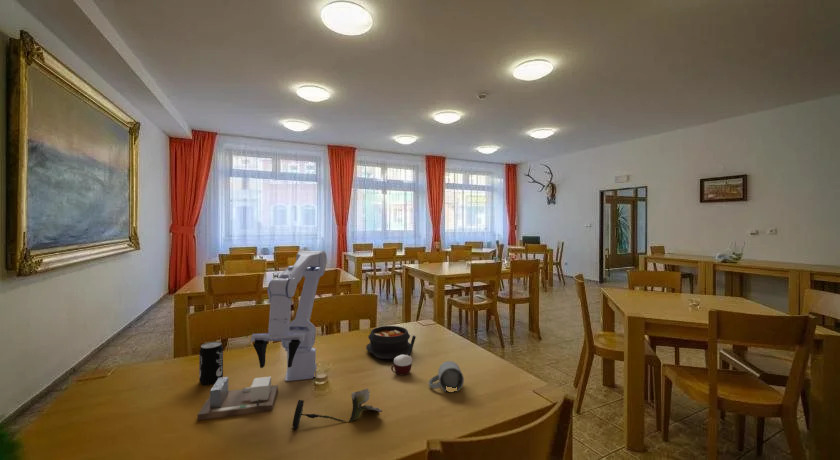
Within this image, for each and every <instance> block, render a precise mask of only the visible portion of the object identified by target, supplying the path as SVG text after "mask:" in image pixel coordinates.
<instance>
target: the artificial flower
mask: <svg viewBox="0 0 840 460" xmlns="http://www.w3.org/2000/svg"><path fill="white" fill-rule="evenodd" d="M370 393H371V392H370V389H369V388H365V389H362V390H358V391H353V392H351V400H352V411H351V415H350V418H349V420H348V421H351V422H353V421H354V420H357V419H359V418H360V414H361V413H362V411H363V412H364V410H365V411H368V410H369V411H375V412H380V413H383V409H380V408H379V407H374V406H372V405H369V404H365V403H367V402H368V401H369V400H370V396H371V395H370ZM304 403H305V400H303V399H298V401H297V403H296V408H295V411H294V415H293V419H292V424H291V425H292V428H291V429H292V430H294V429H295V430H297V429H298V428H299V425H300V422H301V418H302V416H306V417H307V418H310V419H315V418H323V419H330V420H334V421H337V422H340V421H345V420H344V419H340V418H337V417H333V416H329V415H322V414H316V413H310V414H309V413H307V414H306V413H303V412H304V409H303V408H304ZM362 404H365V405H362ZM352 420H353V421H352Z"/></svg>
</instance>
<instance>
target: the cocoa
mask: <svg viewBox="0 0 840 460" xmlns="http://www.w3.org/2000/svg"><path fill="white" fill-rule="evenodd" d="M416 337H417V335H412V338H411V341H410V347H409V351H408V354H407V355H399V356H397V357H395V358H394V359H393V365H392V366H391V368H390V370H391V371H392V372H393V373H394V374H398V375H399V374H403V375H402V376H405V375H404V374H406V375H408V374H409V373H410V371H411V369H412V366H413V364H412V363H413V358H412V357H411V354H412V351H413V348H414V345H415V341H416ZM407 373H408V374H407Z"/></svg>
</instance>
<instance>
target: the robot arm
mask: <svg viewBox="0 0 840 460" xmlns="http://www.w3.org/2000/svg"><path fill="white" fill-rule="evenodd" d="M327 262H328V259H327V253H326V251H325V250H302V249H301V250H299V251H298V252H297V253H296V256H295V262H294V264H293V265H288V266H287V268H286V269H284V271H283V272H282V273H281V274H280V275H279V276H278V277H274V278H273V279H270V281H269V282H268V286H267V296H268V303H269V304H270V305H269V316H268V317H269V318H268V332H267V333H252V334H251V339H250V342H252V343H253V342H254V343H253V348H254V350H255V352H256V353H257V354H256V355H257V358H258V362H259V368H260V369H263V368H264V367H265V366H266V352H267V346H268V342H281V346H282V348H283V349H285V350H284V351H285V352H286V360H287V361H286V363H287V364H286V365H287V366H286V367H287V368H286V374H285V378H284V381H285V382H291V381H301V380H310V379H314V378H313V377H314V372H315V373H316V371H317V368H318V366H317V363H316V359H317V355H316V351H317V350H316V347H314V345H315V342H316V333H317V329H316V326H315V325H314V323H312V322H311V321H310V320H311V316H312V311H313V307H314V302H315V297H316V295H317V289H318V285H319V281H320V278H321V277H322V276H324V274H325V271H326V268H327V264H328V263H327ZM303 277H304V280H303V281H304V282H303V285H302V286H303V287H302V289H301V290H302V291H301V293H300V296H299V297H300V298H299V301H298V307H297V310H296V314H295V317H294V319H293V320H291V309H292V307H291V306H292V298H293V297H294V296H295V295H296V289H297V286H298V284H299V283H300V281H301V280H302V278H303ZM315 370H316V371H315Z"/></svg>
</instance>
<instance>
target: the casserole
mask: <svg viewBox="0 0 840 460" xmlns="http://www.w3.org/2000/svg"><path fill="white" fill-rule="evenodd" d="M369 333H370V334H368V339H369V341H370V342H369V343H368V344H367V345H366V346H365V349H366V351H367V352H368V353H370V354H372V355H373V356H374V357H376V358H377V359H380V360H384V359H385V360H394V358H395V357H397V356H399V355H407V354H408V351H409V347H410V344H411V342H409V339H410V338H411V335H410V333H409V331H408V329H407V328H404V327H402V326H396V325H383V326H379V327H378V326H377V327H375V328H373V329H371V330H370V332H369Z"/></svg>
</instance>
